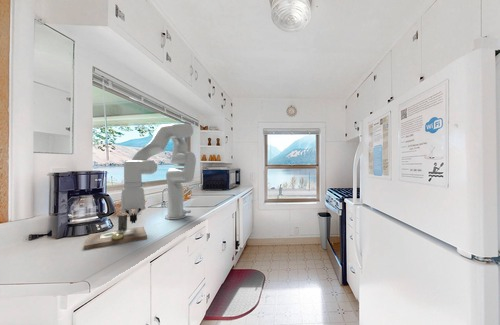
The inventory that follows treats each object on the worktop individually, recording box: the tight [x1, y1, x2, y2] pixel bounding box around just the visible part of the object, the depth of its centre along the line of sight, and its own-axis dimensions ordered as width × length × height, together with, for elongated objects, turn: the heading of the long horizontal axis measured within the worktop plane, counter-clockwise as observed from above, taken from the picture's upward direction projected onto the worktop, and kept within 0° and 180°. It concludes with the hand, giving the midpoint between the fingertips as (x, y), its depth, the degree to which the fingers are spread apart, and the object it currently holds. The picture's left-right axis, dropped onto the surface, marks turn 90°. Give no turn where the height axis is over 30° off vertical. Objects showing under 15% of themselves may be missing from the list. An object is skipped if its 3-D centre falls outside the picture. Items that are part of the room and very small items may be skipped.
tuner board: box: [83, 226, 148, 250], centre depth 92 cm, size 22×16×2 cm
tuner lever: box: [112, 213, 128, 240], centre depth 93 cm, size 16×4×7 cm, turn 24°
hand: (133, 222), depth 101 cm, fingers closed
